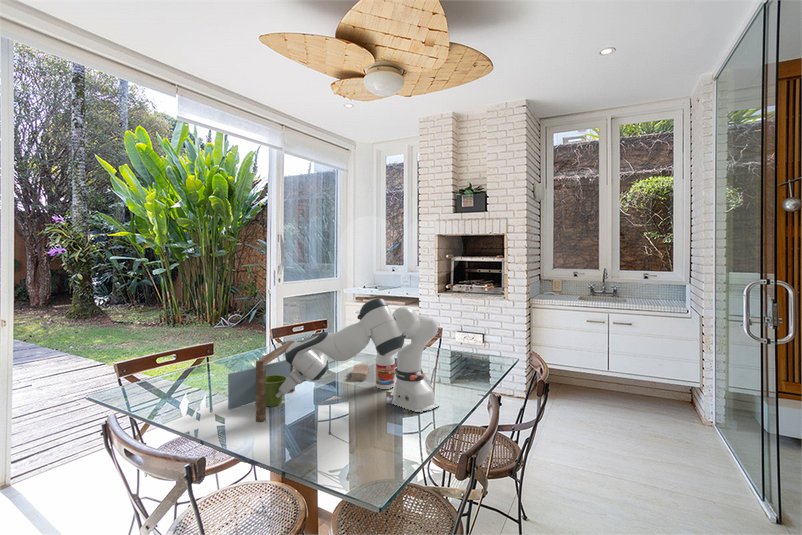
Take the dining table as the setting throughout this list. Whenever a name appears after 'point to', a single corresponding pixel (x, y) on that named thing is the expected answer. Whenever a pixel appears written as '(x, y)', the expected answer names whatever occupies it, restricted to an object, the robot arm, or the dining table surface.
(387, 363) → the fruit juice
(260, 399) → the door frame
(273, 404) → the plant pot
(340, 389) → the dining table surface
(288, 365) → the door
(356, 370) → the brick
